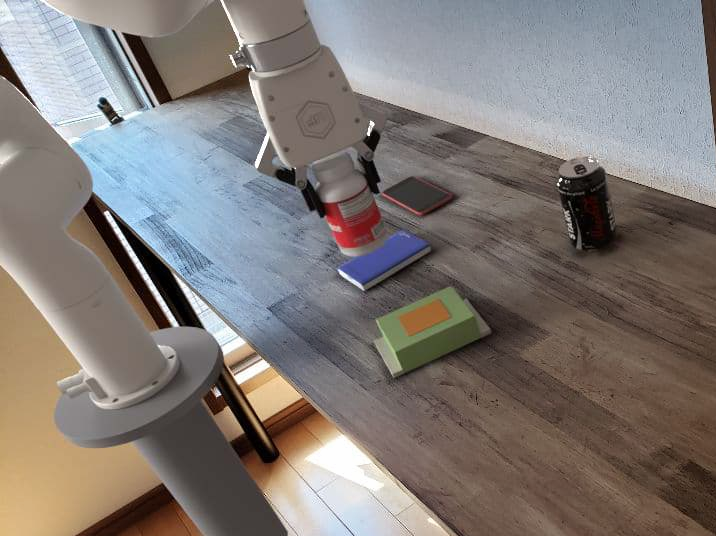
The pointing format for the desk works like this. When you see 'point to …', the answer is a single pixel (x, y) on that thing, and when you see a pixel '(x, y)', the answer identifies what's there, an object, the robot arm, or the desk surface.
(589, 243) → the beverage can
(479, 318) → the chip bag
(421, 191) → the smartphone
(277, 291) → the desk surface
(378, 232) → the pill bottle
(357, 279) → the hard drive
